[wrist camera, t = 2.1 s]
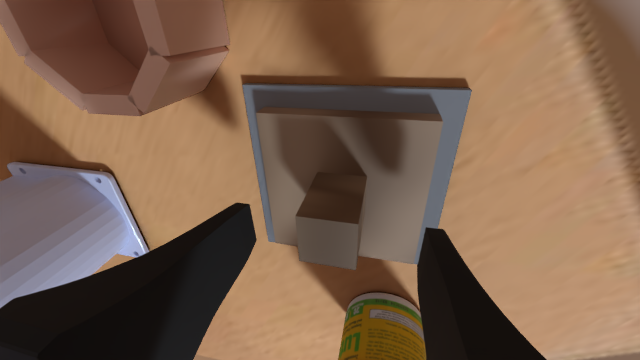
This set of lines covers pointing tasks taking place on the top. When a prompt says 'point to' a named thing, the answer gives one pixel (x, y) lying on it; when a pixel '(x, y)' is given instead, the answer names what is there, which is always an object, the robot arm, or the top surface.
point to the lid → (348, 181)
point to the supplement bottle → (382, 329)
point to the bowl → (119, 49)
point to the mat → (368, 99)
